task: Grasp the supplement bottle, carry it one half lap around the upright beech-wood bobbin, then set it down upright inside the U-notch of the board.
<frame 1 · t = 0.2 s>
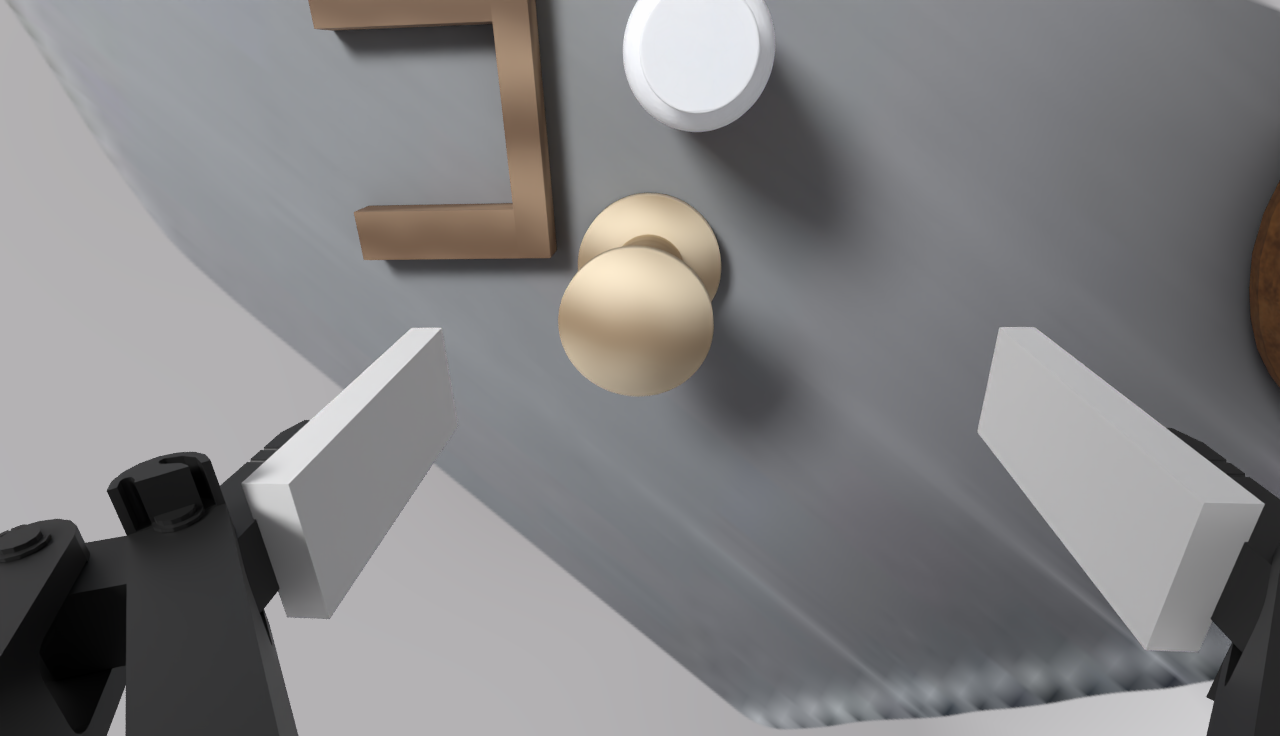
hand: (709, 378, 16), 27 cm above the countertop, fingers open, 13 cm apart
bobbin: (650, 263, 42), on the countertop
notch board: (447, 120, 39), on the countertop
supplement bottle: (697, 55, 37), on the countertop
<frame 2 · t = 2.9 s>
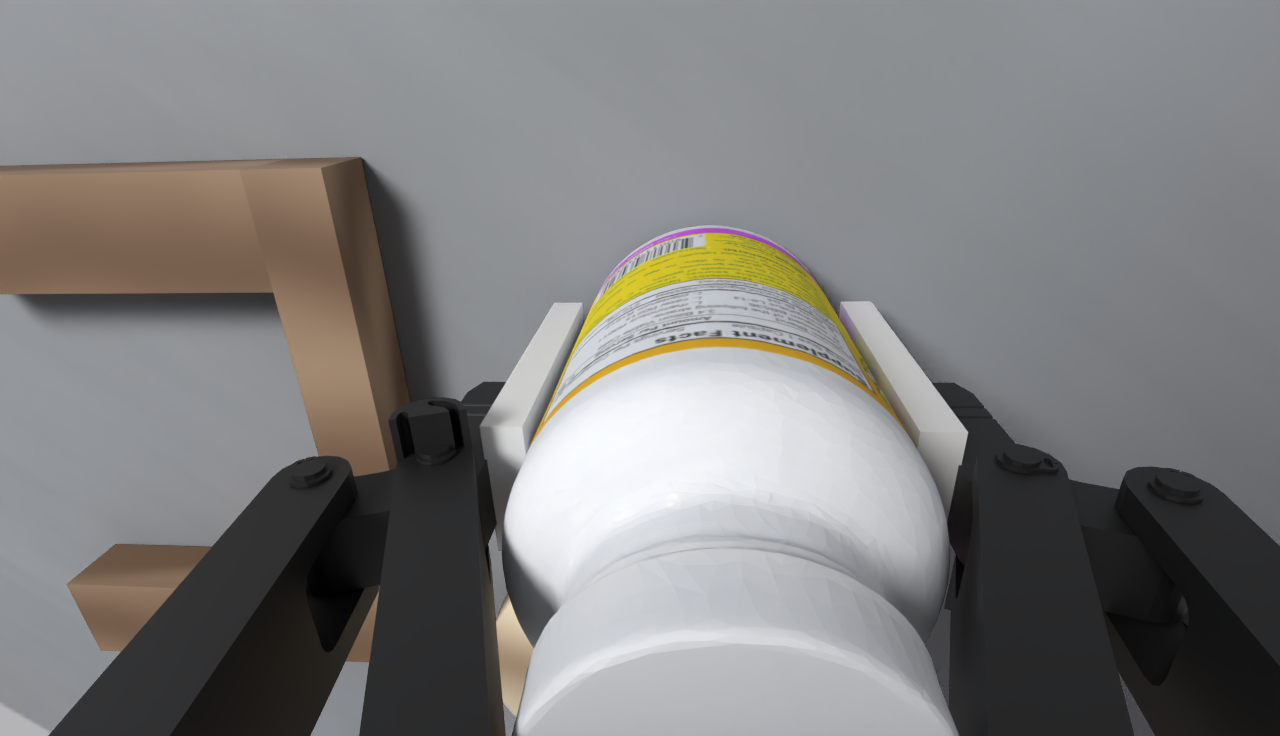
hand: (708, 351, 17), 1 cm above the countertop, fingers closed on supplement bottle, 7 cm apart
bobbin: (620, 646, 23), on the countertop
notch board: (232, 424, 21), on the countertop
supplement bottle: (708, 334, 18), on the countertop, touching gripper
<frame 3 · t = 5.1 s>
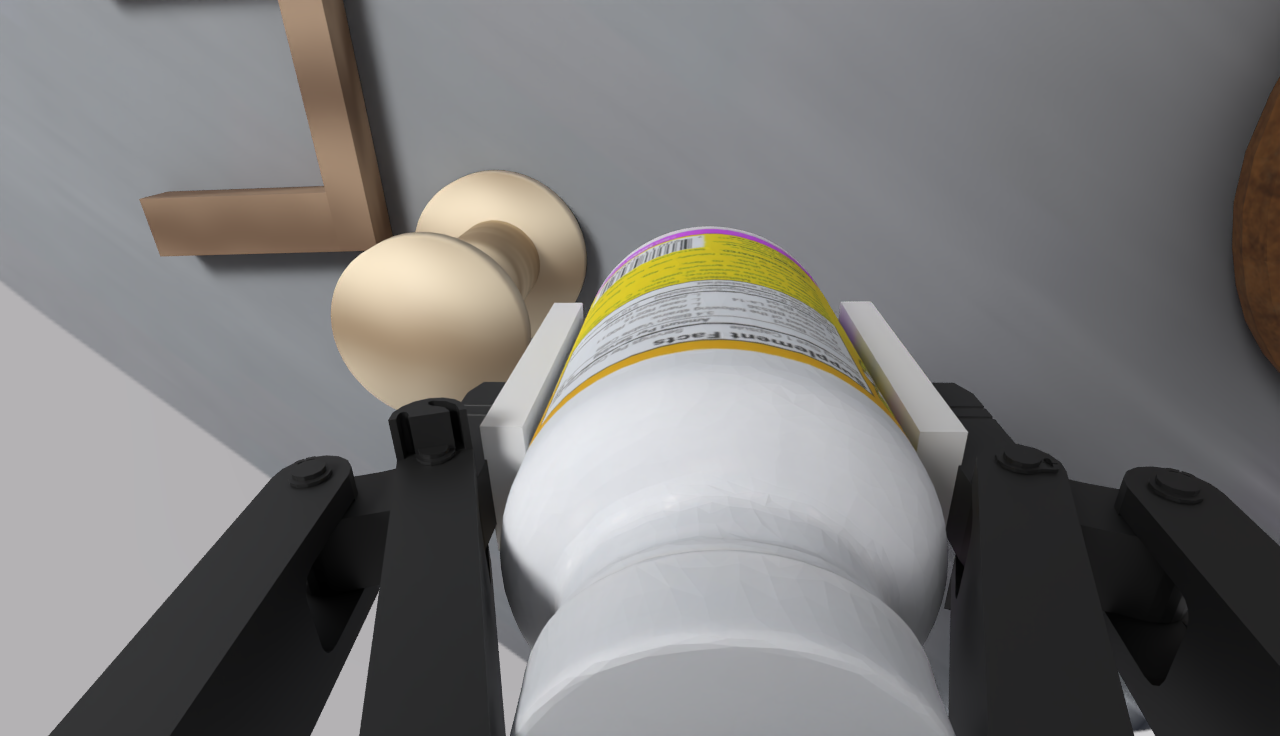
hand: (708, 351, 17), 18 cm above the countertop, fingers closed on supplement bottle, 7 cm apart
bobbin: (504, 255, 35), on the countertop
notch board: (244, 85, 32), on the countertop
supplement bottle: (707, 334, 18), point 17 cm above the countertop, touching gripper
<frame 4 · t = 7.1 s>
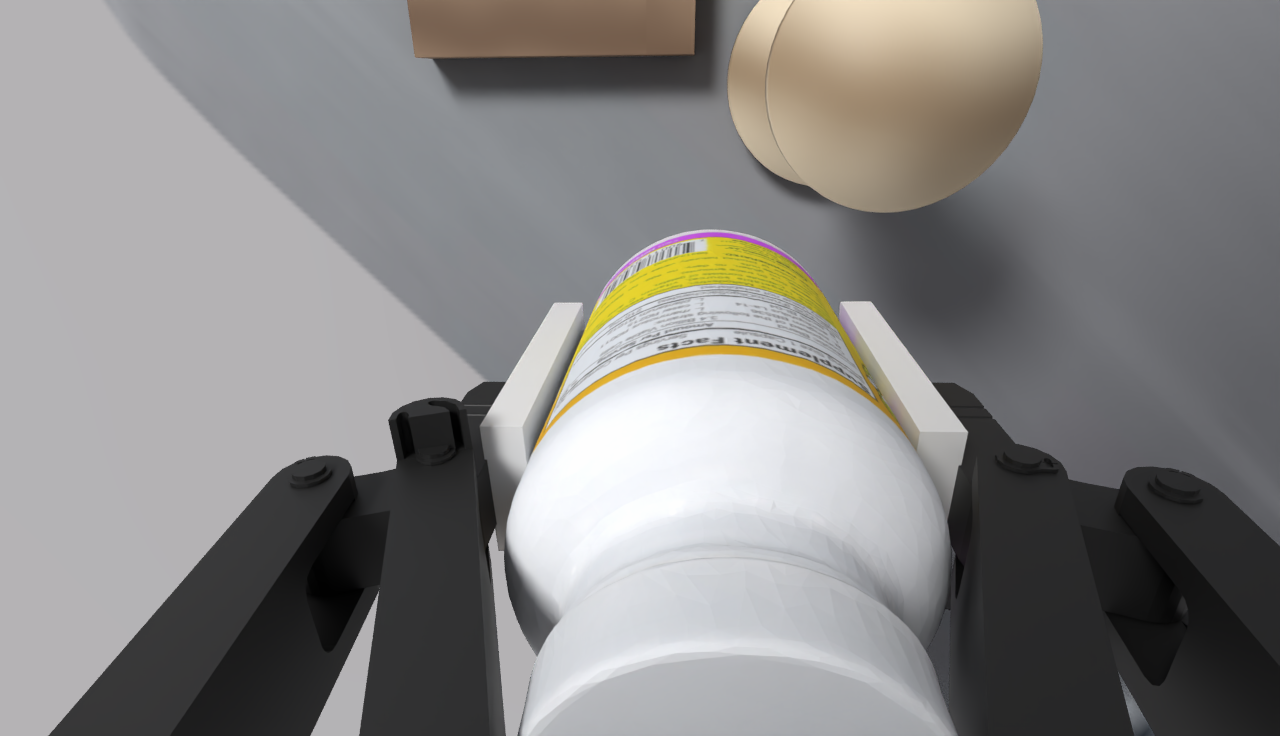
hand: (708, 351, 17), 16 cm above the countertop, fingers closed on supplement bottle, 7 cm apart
bobbin: (829, 78, 29), on the countertop
supplement bottle: (709, 337, 18), point 15 cm above the countertop, touching gripper
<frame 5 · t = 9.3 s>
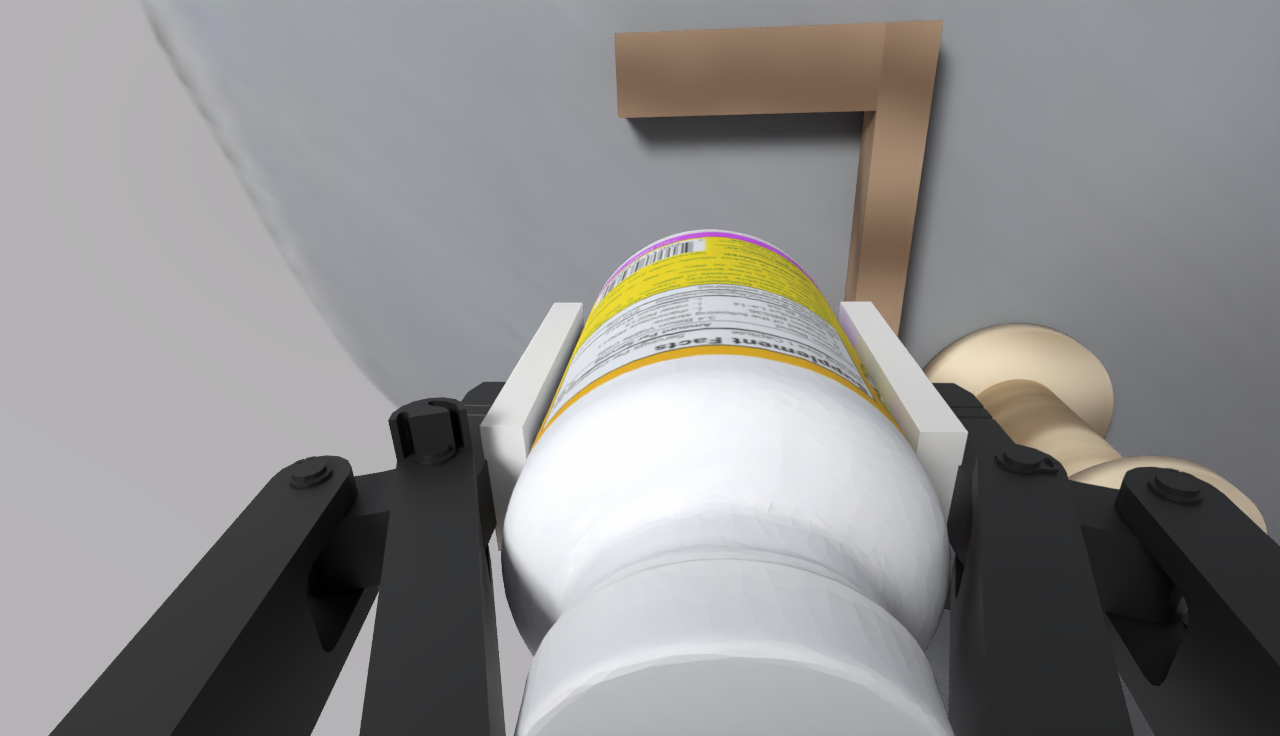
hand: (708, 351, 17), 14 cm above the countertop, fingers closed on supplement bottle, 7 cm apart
bobbin: (999, 408, 32), on the countertop
notch board: (760, 229, 29), on the countertop
supplement bottle: (708, 337, 18), point 12 cm above the countertop, touching gripper
when the fingers open (3 cm above the countertop, at t = 11.3 s): supplement bottle drops 2 cm, on the countertop.
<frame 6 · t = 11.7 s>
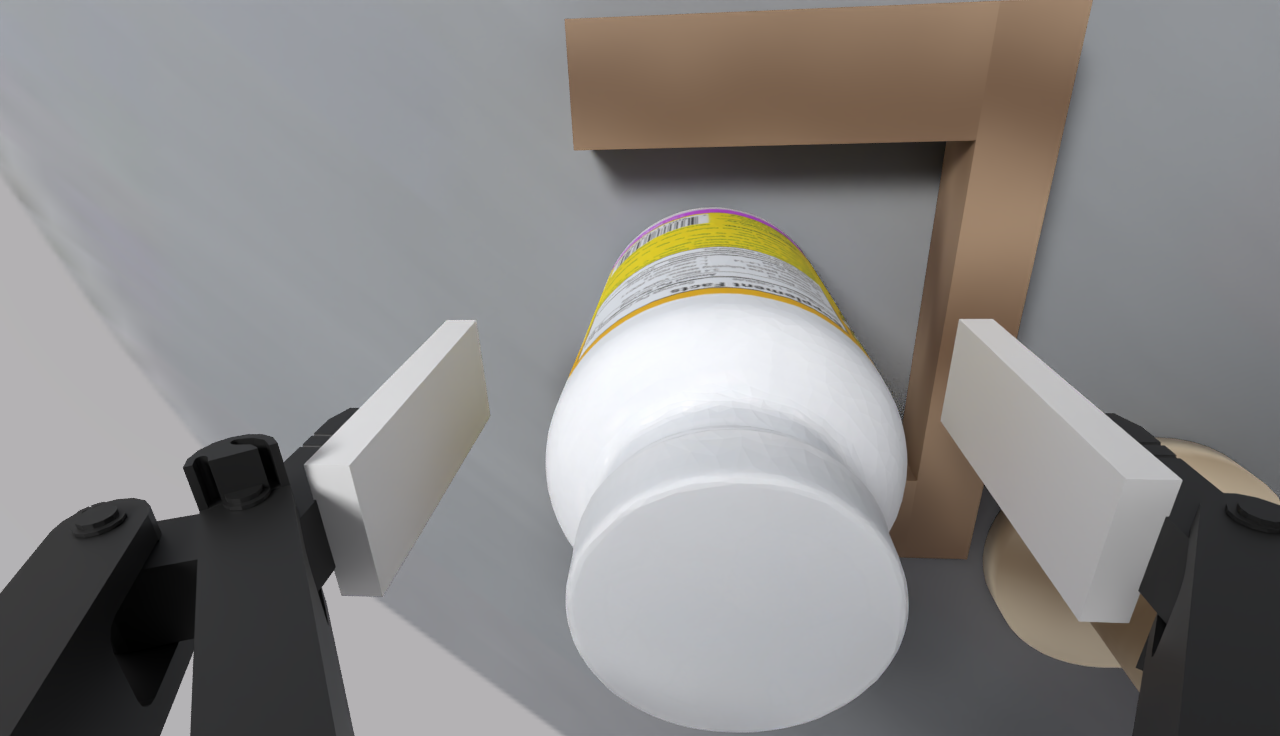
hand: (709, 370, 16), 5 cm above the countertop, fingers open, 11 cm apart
bobbin: (1117, 547, 23), on the countertop
notch board: (787, 306, 20), on the countertop
supplement bottle: (710, 305, 21), on the countertop
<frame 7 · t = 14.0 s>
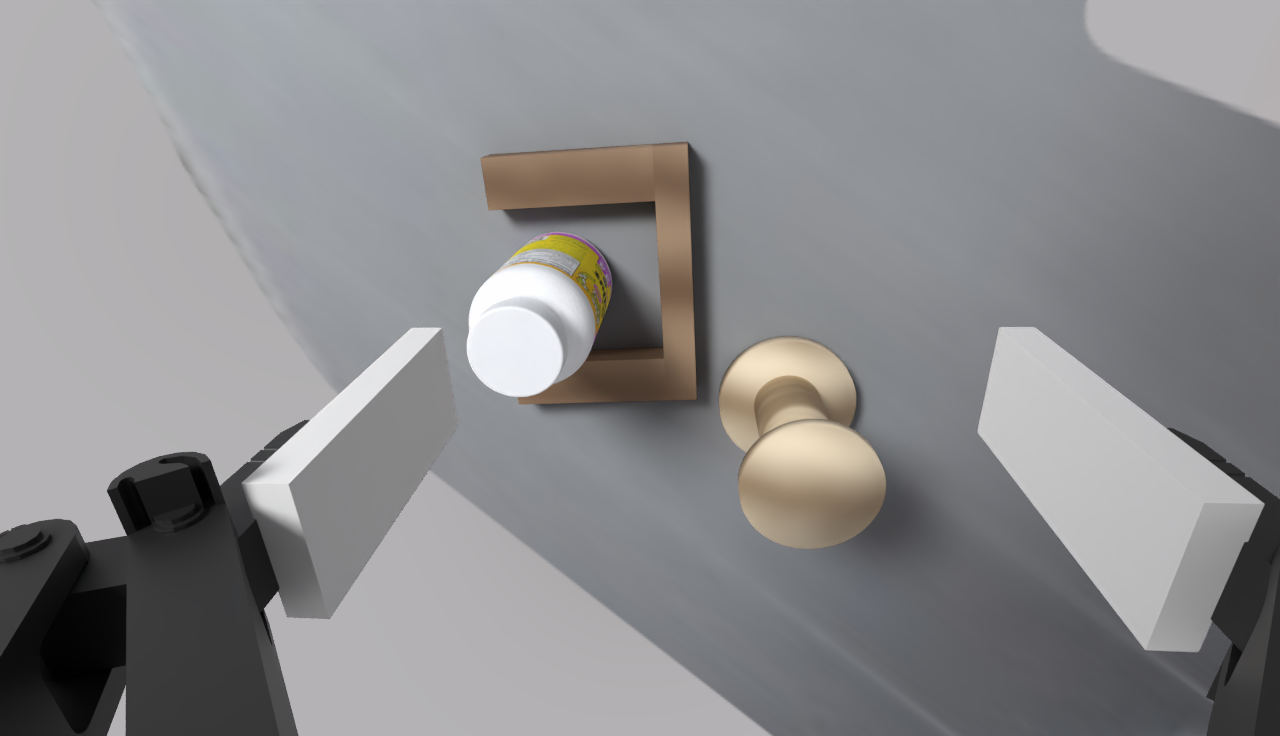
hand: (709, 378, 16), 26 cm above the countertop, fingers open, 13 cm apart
bobbin: (784, 397, 45), on the countertop
notch board: (599, 277, 42), on the countertop
supplement bottle: (564, 278, 43), on the countertop
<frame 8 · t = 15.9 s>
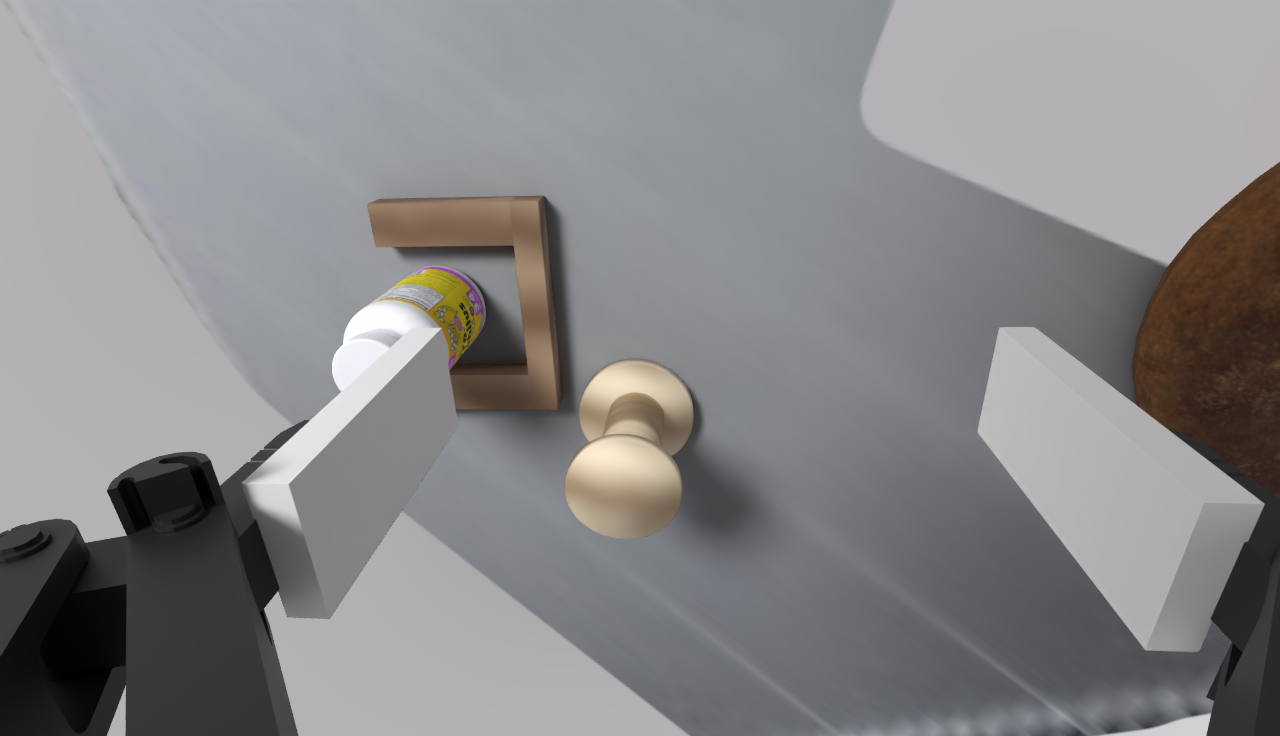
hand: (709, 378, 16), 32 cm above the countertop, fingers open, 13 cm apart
bobbin: (637, 410, 52), on the countertop
notch board: (476, 304, 50), on the countertop
supplement bottle: (446, 303, 50), on the countertop
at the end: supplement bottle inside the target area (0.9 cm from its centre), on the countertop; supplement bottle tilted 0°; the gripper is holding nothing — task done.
